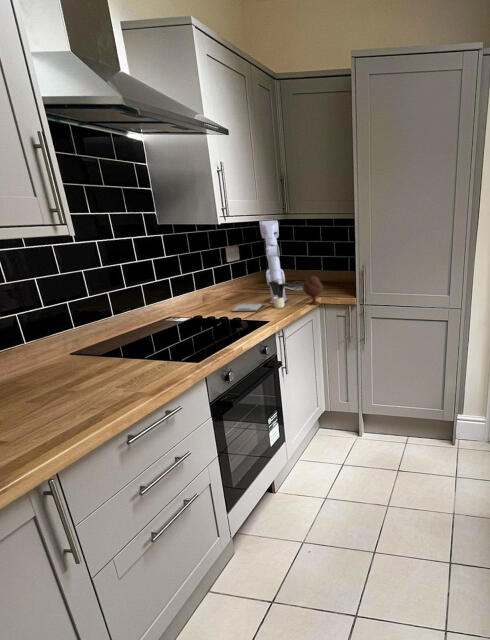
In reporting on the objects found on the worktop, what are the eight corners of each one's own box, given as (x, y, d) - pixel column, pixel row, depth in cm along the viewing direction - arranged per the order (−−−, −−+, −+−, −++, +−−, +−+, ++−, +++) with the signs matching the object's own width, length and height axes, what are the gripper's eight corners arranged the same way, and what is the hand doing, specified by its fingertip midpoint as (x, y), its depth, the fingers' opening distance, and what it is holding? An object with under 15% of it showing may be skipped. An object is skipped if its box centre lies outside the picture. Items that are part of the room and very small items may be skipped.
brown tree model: (326, 301, 243) (324, 274, 237) (321, 305, 233) (319, 277, 227) (307, 301, 244) (305, 274, 238) (302, 306, 234) (299, 277, 228)
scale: (240, 306, 238) (240, 303, 237) (264, 305, 237) (263, 303, 237) (231, 312, 225) (231, 309, 224) (256, 311, 225) (256, 309, 224)
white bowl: (275, 305, 236) (274, 296, 234) (285, 305, 236) (284, 296, 234) (272, 308, 231) (271, 298, 229) (283, 307, 231) (282, 298, 229)
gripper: (263, 269, 230) (266, 294, 235) (271, 272, 218) (274, 299, 224) (276, 267, 233) (279, 293, 238) (284, 270, 221) (287, 297, 227)
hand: (278, 296), depth 231 cm, fingers open, 7 cm apart
